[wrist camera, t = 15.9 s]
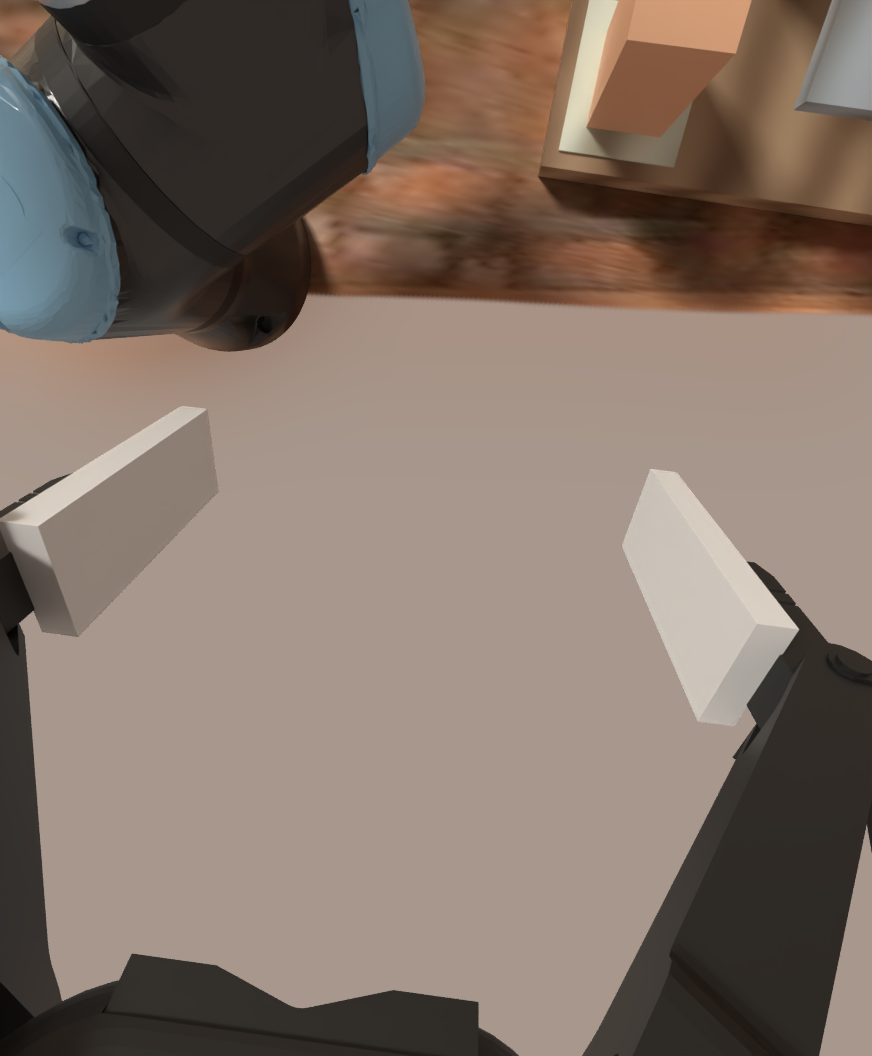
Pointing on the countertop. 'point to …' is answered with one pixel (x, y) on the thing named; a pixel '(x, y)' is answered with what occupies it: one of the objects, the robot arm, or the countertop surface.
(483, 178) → the countertop surface
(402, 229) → the countertop surface
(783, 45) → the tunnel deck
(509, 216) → the countertop surface
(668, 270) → the countertop surface
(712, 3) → the orange block
